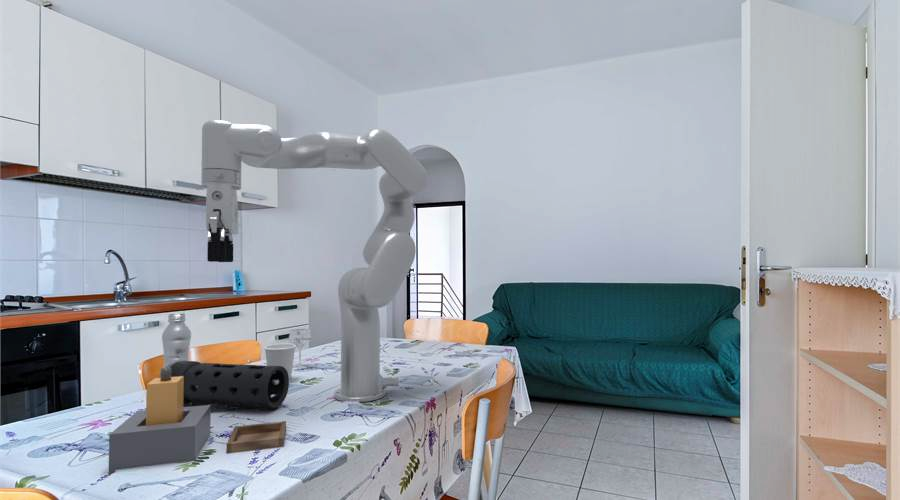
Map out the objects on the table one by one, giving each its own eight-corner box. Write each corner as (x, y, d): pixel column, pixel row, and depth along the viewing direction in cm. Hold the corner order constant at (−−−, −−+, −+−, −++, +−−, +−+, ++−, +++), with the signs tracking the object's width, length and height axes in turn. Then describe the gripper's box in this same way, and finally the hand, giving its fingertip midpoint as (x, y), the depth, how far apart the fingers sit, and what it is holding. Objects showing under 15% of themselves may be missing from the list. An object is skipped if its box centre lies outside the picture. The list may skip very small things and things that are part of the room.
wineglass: (284, 370, 141) (284, 331, 141) (295, 365, 147) (295, 328, 148) (304, 371, 140) (305, 331, 140) (314, 366, 146) (315, 329, 147)
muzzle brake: (265, 419, 96) (265, 369, 96) (153, 411, 102) (154, 365, 102) (290, 405, 105) (290, 360, 106) (185, 399, 111) (186, 356, 111)
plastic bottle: (168, 389, 119) (169, 313, 120) (195, 388, 120) (196, 312, 121) (154, 396, 113) (155, 315, 114) (183, 395, 114) (184, 315, 114)
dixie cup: (284, 376, 133) (284, 342, 133) (301, 380, 128) (302, 345, 128) (257, 382, 126) (257, 346, 126) (275, 387, 121) (275, 349, 121)
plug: (182, 432, 81) (183, 364, 82) (176, 441, 77) (177, 370, 77) (153, 435, 80) (155, 366, 80) (145, 445, 75) (146, 372, 76)
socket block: (210, 436, 86) (210, 404, 86) (194, 463, 74) (195, 425, 74) (136, 444, 82) (137, 411, 82) (108, 473, 71) (109, 434, 71)
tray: (286, 431, 88) (286, 421, 88) (283, 449, 80) (283, 437, 80) (234, 437, 86) (234, 426, 86) (226, 456, 77) (226, 444, 77)
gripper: (234, 173, 89) (234, 261, 88) (246, 188, 105) (245, 262, 105) (191, 171, 87) (190, 261, 86) (210, 187, 103) (209, 262, 102)
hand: (221, 261), depth 95 cm, fingers open, 9 cm apart
